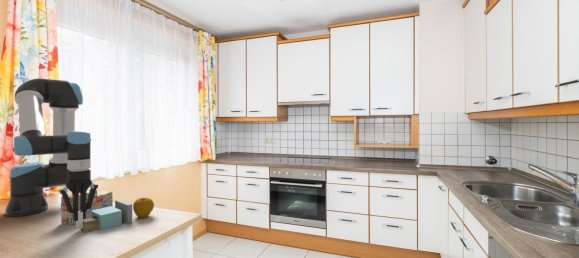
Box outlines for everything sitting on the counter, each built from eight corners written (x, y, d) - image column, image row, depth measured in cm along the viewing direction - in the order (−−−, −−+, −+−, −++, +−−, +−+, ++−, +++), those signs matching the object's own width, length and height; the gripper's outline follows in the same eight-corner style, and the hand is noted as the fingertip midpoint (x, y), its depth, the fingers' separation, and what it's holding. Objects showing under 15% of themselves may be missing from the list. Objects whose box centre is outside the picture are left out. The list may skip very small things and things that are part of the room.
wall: (115, 217, 128) (115, 200, 128) (119, 216, 130) (119, 199, 130) (127, 223, 121) (127, 205, 121) (132, 222, 123) (132, 204, 123)
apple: (157, 213, 134) (157, 195, 134) (147, 220, 126) (147, 200, 125) (139, 213, 134) (139, 195, 134) (129, 219, 126) (129, 200, 126)
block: (90, 224, 120) (90, 210, 119) (111, 219, 126) (111, 206, 126) (100, 229, 114) (100, 215, 114) (121, 224, 120) (121, 210, 120)
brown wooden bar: (80, 230, 113) (80, 220, 113) (107, 223, 121) (107, 213, 121) (84, 232, 111) (84, 222, 111) (111, 225, 119) (111, 215, 119)
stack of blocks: (102, 209, 141) (101, 184, 140) (112, 209, 140) (112, 185, 139) (60, 224, 120) (60, 195, 119) (73, 225, 119) (73, 196, 118)
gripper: (62, 173, 104) (62, 235, 104) (101, 168, 114) (101, 225, 115) (55, 170, 108) (56, 230, 109) (94, 166, 119) (94, 221, 119)
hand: (79, 227), depth 112 cm, fingers closed
